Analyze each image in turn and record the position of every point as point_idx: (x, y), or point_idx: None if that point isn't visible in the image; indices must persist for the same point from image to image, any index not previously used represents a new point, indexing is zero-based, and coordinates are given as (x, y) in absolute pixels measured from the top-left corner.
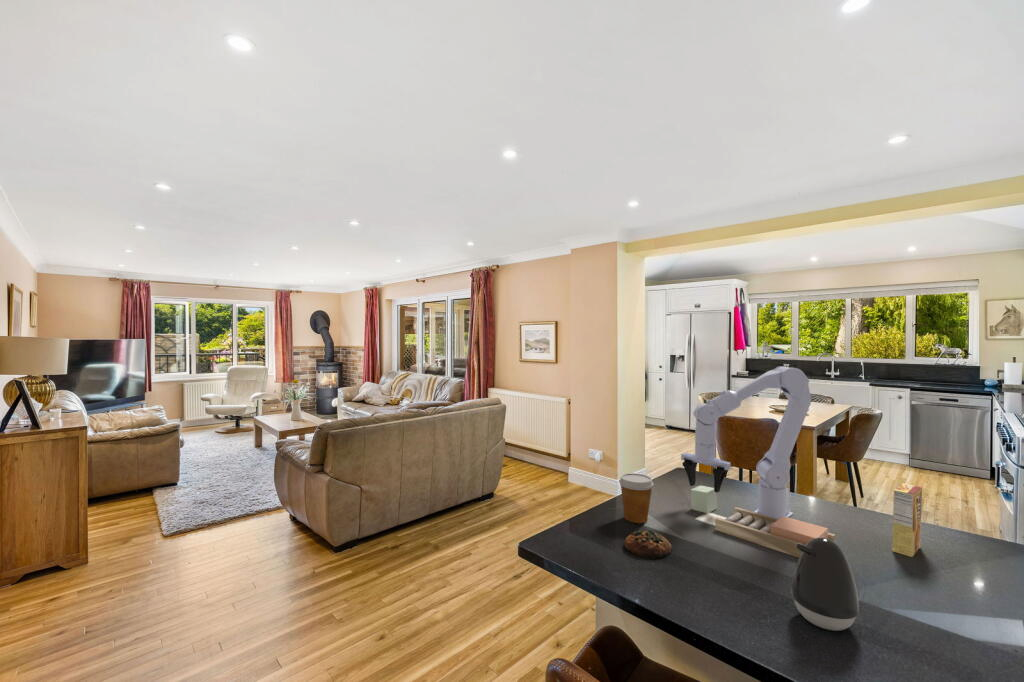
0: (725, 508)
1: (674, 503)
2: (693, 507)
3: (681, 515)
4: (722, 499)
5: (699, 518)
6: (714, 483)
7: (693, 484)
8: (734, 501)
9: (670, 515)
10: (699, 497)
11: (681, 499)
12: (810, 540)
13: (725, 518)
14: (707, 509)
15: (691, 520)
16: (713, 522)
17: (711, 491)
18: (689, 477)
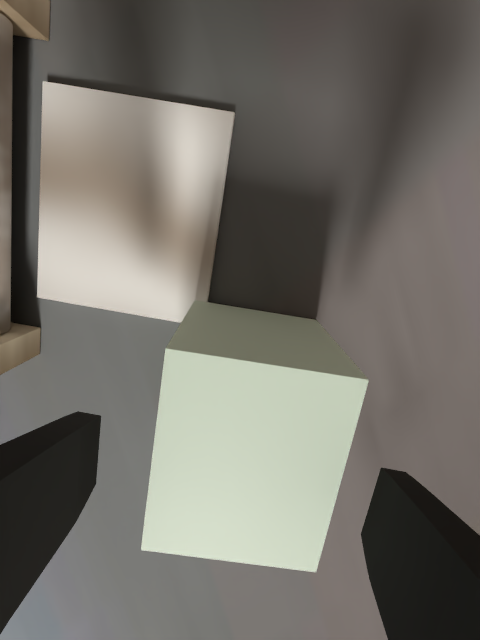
0: (146, 478)
1: (458, 361)
2: (305, 322)
3: (347, 139)
4: (209, 611)
5: (209, 146)
6: (22, 462)
7: (373, 507)
8: (145, 616)
9: (424, 70)
10: (257, 339)
11: (431, 469)
12: None
13: (72, 281)
14: (193, 307)
15: (253, 85)
16: (104, 139)
17: (155, 450)
18: (469, 545)
